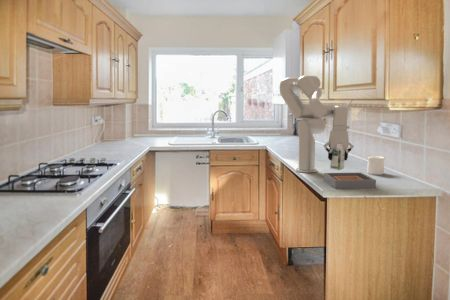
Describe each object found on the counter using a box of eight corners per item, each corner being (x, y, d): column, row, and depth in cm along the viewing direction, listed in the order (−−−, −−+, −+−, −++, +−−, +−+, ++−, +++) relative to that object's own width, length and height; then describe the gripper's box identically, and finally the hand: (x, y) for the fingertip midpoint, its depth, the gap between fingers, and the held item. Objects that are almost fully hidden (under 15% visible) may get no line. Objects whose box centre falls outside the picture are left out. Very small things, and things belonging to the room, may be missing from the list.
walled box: (324, 180, 220) (324, 172, 219) (360, 179, 220) (361, 172, 220) (335, 188, 200) (335, 180, 199) (375, 187, 201) (375, 179, 200)
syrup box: (329, 168, 227) (331, 142, 225) (335, 167, 231) (336, 141, 229) (338, 170, 223) (340, 143, 221) (344, 168, 227) (346, 143, 225)
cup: (370, 175, 234) (371, 158, 232) (363, 172, 244) (364, 155, 242) (386, 175, 234) (387, 158, 233) (379, 171, 244) (380, 155, 243)
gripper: (352, 127, 228) (350, 158, 231) (321, 127, 227) (320, 158, 230) (357, 129, 220) (355, 161, 223) (325, 128, 220) (323, 161, 223)
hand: (337, 159), depth 227 cm, fingers closed on syrup box, 7 cm apart
